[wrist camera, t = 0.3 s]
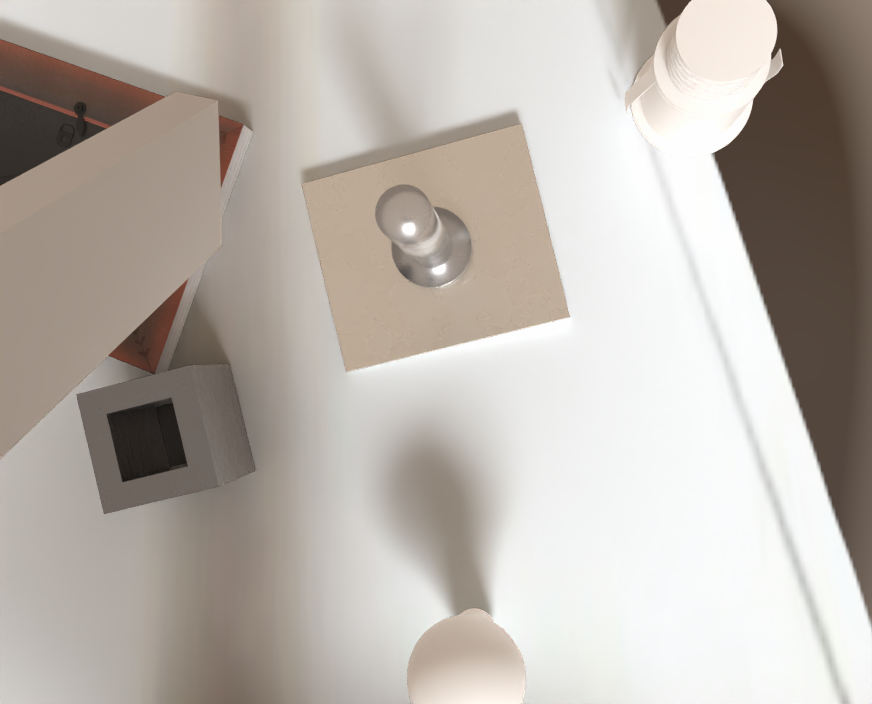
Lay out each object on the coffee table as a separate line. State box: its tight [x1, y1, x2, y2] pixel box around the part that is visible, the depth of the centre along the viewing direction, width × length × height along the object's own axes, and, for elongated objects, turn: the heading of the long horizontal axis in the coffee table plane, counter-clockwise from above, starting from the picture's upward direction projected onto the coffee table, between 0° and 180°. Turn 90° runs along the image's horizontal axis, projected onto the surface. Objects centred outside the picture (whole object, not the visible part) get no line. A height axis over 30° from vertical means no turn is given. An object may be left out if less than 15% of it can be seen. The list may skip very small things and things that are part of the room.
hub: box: [77, 364, 255, 514], centre depth 47 cm, size 7×7×6 cm
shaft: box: [302, 124, 570, 372], centre depth 42 cm, size 12×14×13 cm
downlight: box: [625, 0, 783, 157], centre depth 42 cm, size 8×7×10 cm
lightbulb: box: [407, 608, 526, 704], centre depth 42 cm, size 6×6×11 cm
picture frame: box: [0, 39, 253, 374], centre depth 50 cm, size 16×2×22 cm
